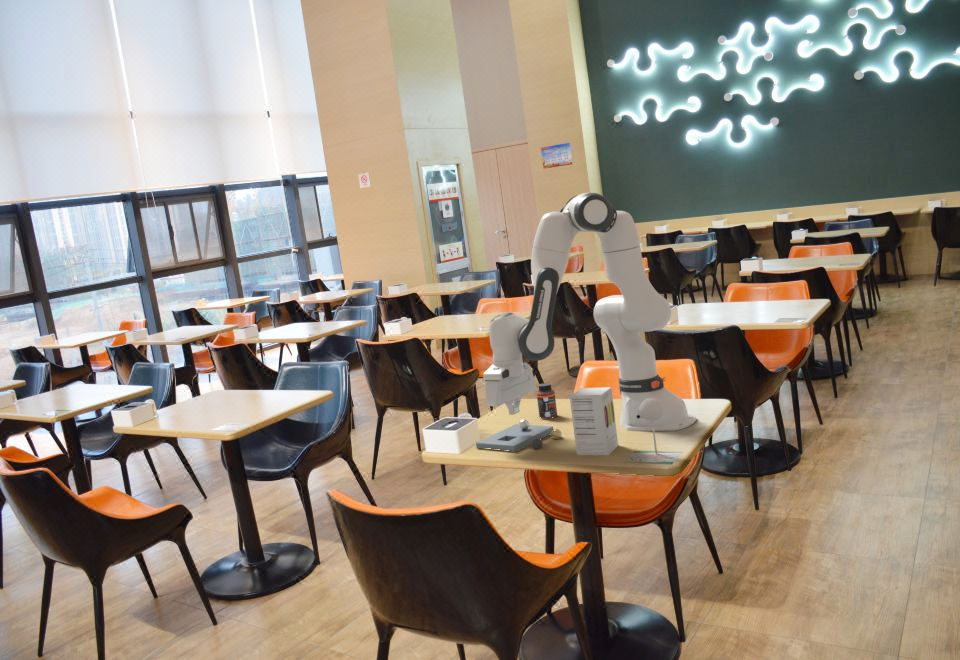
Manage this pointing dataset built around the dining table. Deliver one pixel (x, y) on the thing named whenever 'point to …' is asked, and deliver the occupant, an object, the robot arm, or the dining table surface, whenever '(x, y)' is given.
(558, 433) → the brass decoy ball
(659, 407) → the lollipop
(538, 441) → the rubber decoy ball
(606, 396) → the supplement box
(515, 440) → the hole plate
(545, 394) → the supplement bottle
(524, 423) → the steel ball
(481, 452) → the dining table surface
